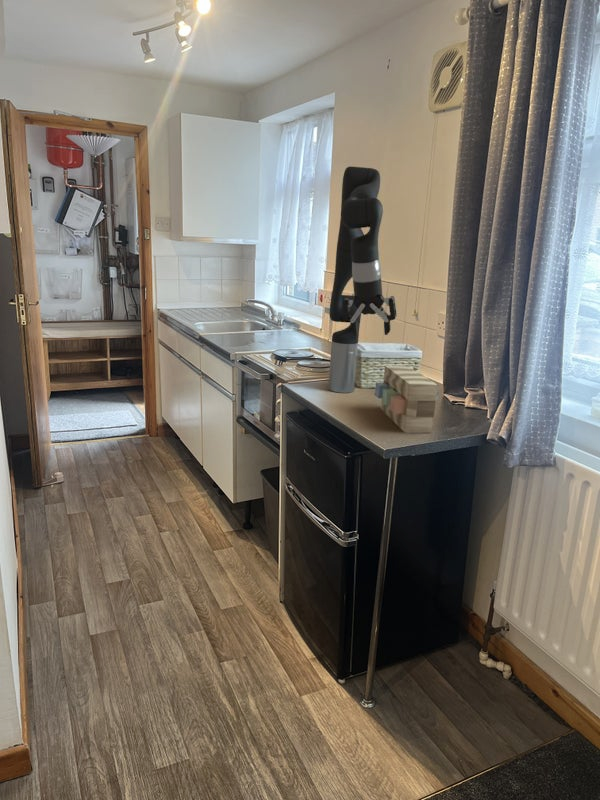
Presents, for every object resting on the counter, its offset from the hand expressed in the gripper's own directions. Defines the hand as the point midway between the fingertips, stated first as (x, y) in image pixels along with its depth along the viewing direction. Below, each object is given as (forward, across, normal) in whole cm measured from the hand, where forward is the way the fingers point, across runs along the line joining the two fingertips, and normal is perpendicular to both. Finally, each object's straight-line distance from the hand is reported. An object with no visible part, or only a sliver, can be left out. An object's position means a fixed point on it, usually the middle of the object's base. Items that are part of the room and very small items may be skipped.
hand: (371, 334), depth 163 cm
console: (+29, -7, -4) cm, 30 cm away
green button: (+23, -3, -3) cm, 24 cm away
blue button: (+24, +1, -10) cm, 26 cm away
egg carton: (+37, -9, -34) cm, 51 cm away
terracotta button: (+22, -7, +4) cm, 23 cm away
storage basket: (+38, +8, -46) cm, 60 cm away
